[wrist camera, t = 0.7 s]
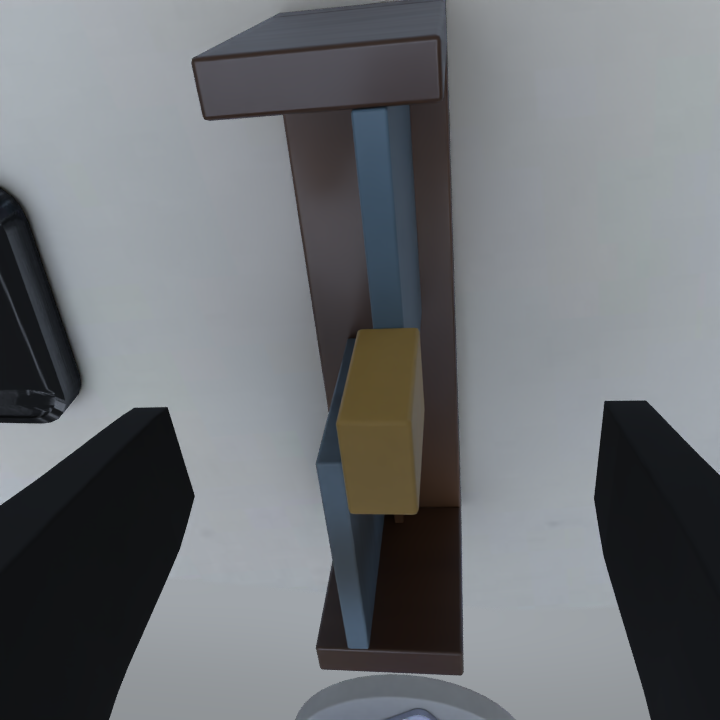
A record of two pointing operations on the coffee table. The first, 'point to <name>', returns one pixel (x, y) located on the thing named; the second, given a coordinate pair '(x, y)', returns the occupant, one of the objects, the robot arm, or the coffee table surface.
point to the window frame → (367, 302)
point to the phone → (30, 330)
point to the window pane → (385, 327)
